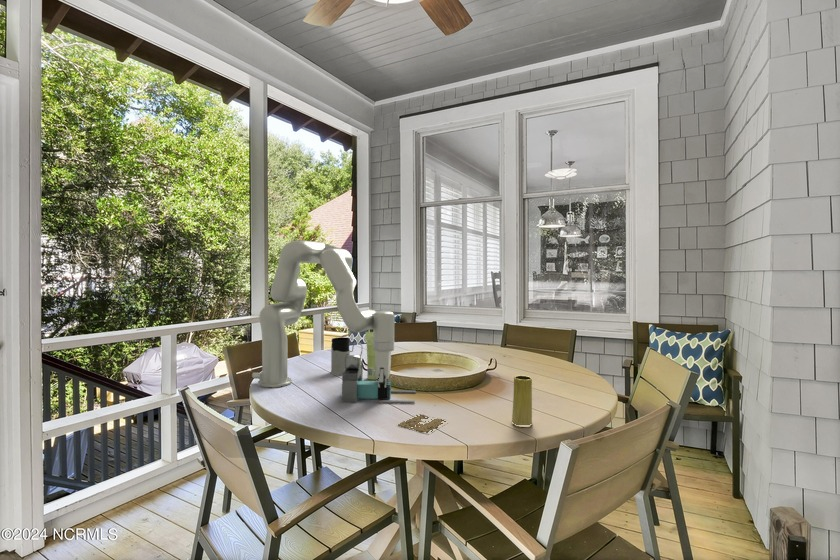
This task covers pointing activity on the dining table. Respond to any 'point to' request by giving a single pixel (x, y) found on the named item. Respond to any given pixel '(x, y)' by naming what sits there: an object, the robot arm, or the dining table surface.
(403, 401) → the pair of grey rods
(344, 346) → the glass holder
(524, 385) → the vase
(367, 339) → the tube
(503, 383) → the dining table surface
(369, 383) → the teal rectangular block
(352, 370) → the housing
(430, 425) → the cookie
